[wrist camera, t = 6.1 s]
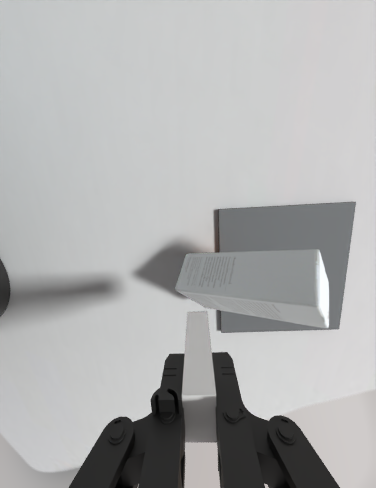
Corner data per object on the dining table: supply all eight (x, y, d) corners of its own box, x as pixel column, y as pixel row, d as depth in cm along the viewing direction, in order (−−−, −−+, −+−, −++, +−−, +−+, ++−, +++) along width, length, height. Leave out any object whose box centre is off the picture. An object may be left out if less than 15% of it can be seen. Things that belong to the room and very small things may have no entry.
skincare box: (212, 274, 25) (329, 280, 18) (204, 308, 23) (329, 331, 16) (185, 251, 21) (321, 246, 14) (172, 289, 19) (320, 310, 12)
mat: (220, 330, 27) (221, 332, 26) (218, 209, 23) (218, 209, 23) (336, 326, 26) (339, 329, 26) (352, 201, 22) (355, 201, 22)
